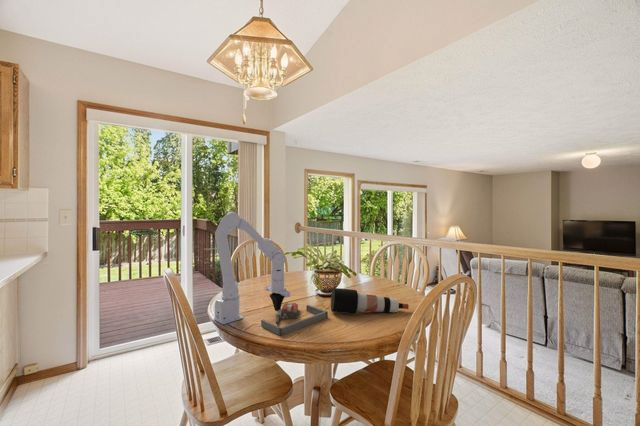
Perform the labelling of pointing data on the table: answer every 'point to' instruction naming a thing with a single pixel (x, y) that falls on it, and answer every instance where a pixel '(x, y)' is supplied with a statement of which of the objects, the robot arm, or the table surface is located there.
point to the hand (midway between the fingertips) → (277, 310)
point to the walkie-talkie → (287, 312)
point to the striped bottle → (362, 302)
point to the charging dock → (297, 325)
